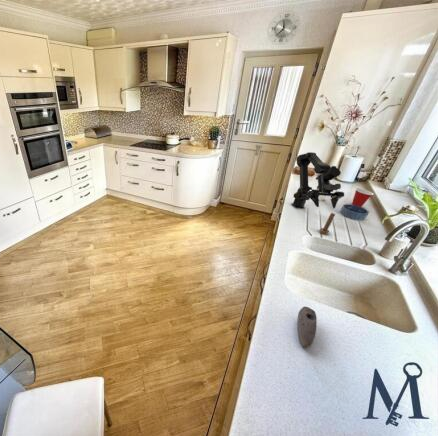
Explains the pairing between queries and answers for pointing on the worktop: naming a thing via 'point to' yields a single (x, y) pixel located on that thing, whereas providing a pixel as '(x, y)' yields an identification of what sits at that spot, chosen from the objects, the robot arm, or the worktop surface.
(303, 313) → the perforated stone tool
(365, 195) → the plastic cup
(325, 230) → the muddler
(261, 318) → the worktop surface
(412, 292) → the worktop surface
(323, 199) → the milk bottle
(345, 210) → the bowl
